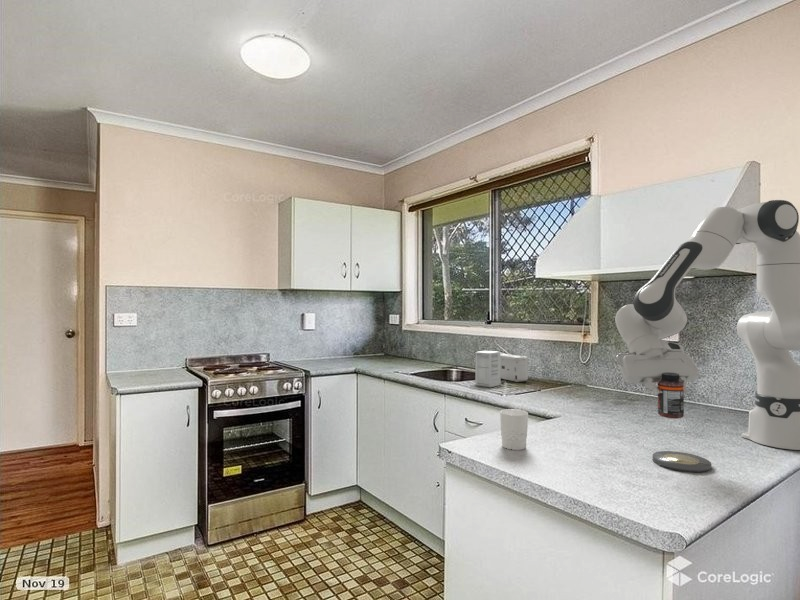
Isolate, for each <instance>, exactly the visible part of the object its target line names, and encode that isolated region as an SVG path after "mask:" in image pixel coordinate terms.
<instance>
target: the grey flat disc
mask: <svg viewBox="0 0 800 600" xmlns="http://www.w3.org/2000/svg"><path fill="white" fill-rule="evenodd" d="M652 461H653V463H654V464H656V465H658V466H660V467H663V468H664V469H665V468H666V469H668V470H672V471H676V472H681V473H688V474H689V473H690V474H691V473H692V474H694V473H695V474H702V473H703V474H704V473H708V472H710V471H711V470H712V463H711V461H710V460H709V459H707V458H705V457H702V456H699V455H696V454H692V453H687V452H682V451H676V450H675V451H673V450H670V451H669V450H662V451H656V452H653V453H652Z"/></svg>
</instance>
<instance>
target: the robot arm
mask: <svg viewBox="0 0 800 600" xmlns="http://www.w3.org/2000/svg"><path fill="white" fill-rule="evenodd" d="M799 220H800V216H799V212H798V209H797V208H796V206H795V205H794V204H793V203H792V202H791V201H788V200H785V199H784V200H783V199H776V200H775V199H772V200H768V201H765V202H763V201H762V202H756V203H752V204H751V203H750V204H749V205H746V206H743V207H740V208H737V209H736V208H735V209H734V208H732V207H730V206H729V207H728V206H720V207H716V208H713V209H712V210H710V211H709V213H707V215H706V216H704V218H703V219H702V220H701V221H700V223H699V224H698V225H697V227H696V228H695V229H694V231H693V232H692V233H691V235H690V237H689V238H688V240H686V241H685V242H683V243H682V244H680V245H679V246H678V247H677V248H676V249H675V250H674V251H673V252H672V254H670V256H669V257H668V259H666V261H665V262H664V263H663V264H662V266H661V267H660V269H658V271H657V272H656V274H654V276H653V277H652V278H651V279H650V280H649V281H648V282H646V283H645V284H644V285H643V286H642V287H640V288H639V289H638V291H637V292H636V293H635V295H634V297H633V300H632V301H633V302H632V303H628V304H626V305H624V306H622V307H620V308H619V309H618V310H617V312H616V314H615V316H614V318H615V320H614V322H615V326H616V329H617V331H618V333H619V335H620V337H621V339H622V341H623V342H624V343H625V344H626V346H627V350H628V352H620V353H618V354H617V355H616V357H615V359H616V362H617V364H618V365H619V369H620V373H621V375H622V377H623V380H624V381H625V382H626V383H627V384H643V385H644V386H645V387H646V388H648V390H650V391H651V392H652V393H653V396H657V397H658V396H659V395H661V394H662V393H663V391H662V390H661V388H660V387H658V385H656V384H658V382H659V381H661V379H662V373H665V372H667V373H677V374H679V381H680V382H681V383H682V384H683V386H684V396H685V395H688V394H689V393H690V392H689V388H688V387H687V385H688V384H687V382H692V383H693V382H694V381H695V380H696V379H697V378H699V375H700V370H699V368H698V366H697V365H696V363H695V361H693V359H692V358H691V356H690V355H688V354H687V353H685V352H684V350H685V349H684V346H683V345H682V344H679V343H676V342H675V343H674V342H671V341H668V340H664V339H666V338H670V337H673V336H675V335H677V334H680V332H682V331H684V329H685V328H686V326H687V323H688V315H687V313H686V312H685V309H684V308H683V307H682V306H681V304H680V302H678V301H677V299H676V289H677V287H678V286H679V284H680V283H681V282H682V281H683V279H684V278H685V277H686V275H687V274H688V273H689V272H690V270H691V269H696V270H702V271H704V270H705V271H709V270H713V269H717V268H719V267H720V266H721V265H722V264H723V263H724V262H725V261H726V260H727V259H728V257H729V256H730V255H731V253H732V251H733V250H734V247H735V246H736V245H740V244H752V243H753V244H755V247H756V248H757V255H756V291H757V293H758V294H759V295H760V296H762V297H763V298H764V299H766V301H767V302H768V304H769V307H770V309H771V311H762V310H760V311H754V312H751V313H746V314H744V315H742V316H741V317H740V318H739V319H738V321H737V324H736V332H737V336H738V337H739V338H740V339H741V341H742V342H744V344H746V346H747V348H748V349H749V351H750V353H751V355H752V358H753V361H754V365H755V369H756V393H755V397H754V401H755V402H754V403H755V407H754V408H752V409H751V410H749V413H748V429H747V431H745V432H742V433H741V437H742V438H743V439H744V438H745V439H747V440H751V441H753V442H755V443H757V444H760V445H763V446H766V447H767V446H769V447H772V448H778V449H783V450H784V449H786V450H794V451H800V365H799V364H798V363H797V362H796V361H795V360H794V359H793V357H792V355H791V352H790V350H791V351H799V352H800V233H799V232H798V231H797V230H798V226H799Z"/></svg>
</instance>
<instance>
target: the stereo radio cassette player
mask: <svg viewBox="0 0 800 600" xmlns="http://www.w3.org/2000/svg"><path fill="white" fill-rule="evenodd" d="M493 343H495V344H496V345H497V346H498V348H500V349H502V350H503V351H504V352H505V353H503V352H500V369H501V380H506V381H511V382H516V383H518V382H526V381H527V380H528V379H529V359H528V358H529V357H528V356H525V355H517V354H516V355H515V354H510V353H509V352H507V350H505V349H504V348H503V347H502V346H500V345H499V344H498V343H497V342H496V341H495V340H494V341H493Z"/></svg>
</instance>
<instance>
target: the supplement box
mask: <svg viewBox="0 0 800 600" xmlns="http://www.w3.org/2000/svg"><path fill="white" fill-rule="evenodd" d="M500 353H501V351H496V350H480V351H475V354H474V355H475V356H474V357H475V359H474V360H475V361H474V362H475V367H474V368H475V369H474V370H475V374H474V375H475V379H474V380H475V386H479V387H486V388H487V387H488V388H493V387H498V386H501V385H502V381H501V380H502V379H501V369H500Z"/></svg>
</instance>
